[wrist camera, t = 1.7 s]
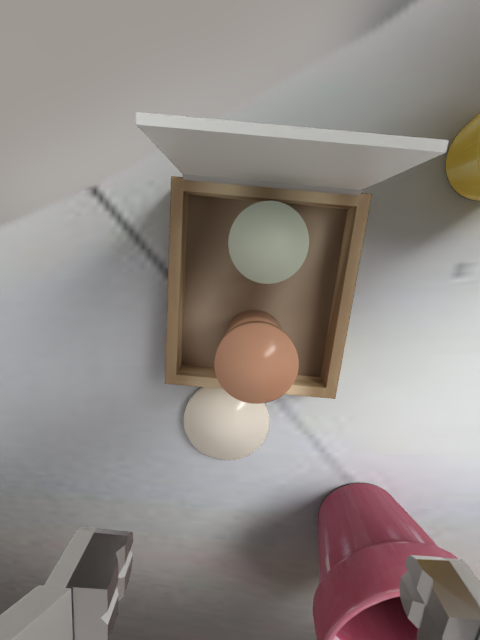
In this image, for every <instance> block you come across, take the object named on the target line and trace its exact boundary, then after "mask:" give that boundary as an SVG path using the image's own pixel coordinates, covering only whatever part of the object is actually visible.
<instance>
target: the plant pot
mask: <svg viewBox="0 0 480 640" xmlns="http://www.w3.org/2000/svg"><path fill="white" fill-rule="evenodd" d="M318 548H319V583H320V584H319V586H318V588H317V590H316V593H315V596H314V601H313V617H314V624H315V630H316V636H317V640H417V630H418V628H417V627H416V626H415V625H414V624H413V623H412V622H411V621H410V620H409V619H408V618H407V615H406V613H405V611H404V608H403V605H402V602H401V598H400V589H399V585H400V580H401V576H403V575H404V574H405V573H406V572H408V570H407V568H406V566H405V562H406V559H407V557H408V556H410V555H417V556H432V557H442V558H454V559H458V558H457V557H456V556H454V555H453V554H451V553H450V552H447V551H445V550H443V549H441V548H439V547H438V546H437V545H436V544H435V543H434V541H433V540H432V539H431V538H430V537H429V536H428V535H427V534H426V533H425V531H424V530H423V529H422V528H421V527H420V526H419V525H418V524H417V523H416V522H415V521H414V520H413V519H412V518H411V516H410V515H409V514H408V513H407V512H406V511H405V510H404V509H403V508H402V507H401V506H400V505H399V504H398V503H397V502H396V501H395V499H394V498H393V497H392V496H391V495H390V494H389V493H388V492H386V491H385V490H384V489H382V488H380V487H378V486H375V485H372V484H367V483H354V484H349V485H345V486H342V487H340V488H338V489H336V490H335V491H333V492H332V493H330V494H329V495H328V496H327V497H326V498H325V499H324V501H323V502H322V504H321V506H320V509H319V513H318Z"/></svg>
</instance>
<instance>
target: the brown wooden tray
mask: <svg viewBox="0 0 480 640" xmlns="http://www.w3.org/2000/svg"><path fill="white" fill-rule="evenodd" d="M371 196H372V194H364V193H360V195H359V196H356V195H345V194H333V193H322V192H311V191H300V190H289V189H278V188H267V187H256V186H245V185H233V184H222V183H211V182H200V181H189V180H183V177H175V176H171V201H170V235H169V268H168V302H167V336H166V369H165V384H175V385H186V386H197V387H208V388H220V389H223V388H222V386H221V385H220V383H219V382H218V379H217V377H216V373H215V368H214V361H215V355H216V352H217V348H218V345H219V343H220V341H221V339H222V338H223V337H224V335H225V334H226V331H227V328H228V325H229V324H230V322H231V321H232V319H233V318H235V317H236V316H237V315H238V314H240V313H242V312H245V311H248V310H261V311H264V312H267V313H269V314H270V315H272V316H273V317H274V318H275V319H276V320H277V321H278V322H279V324H280V326H281V328H282V330H283V331H284V332H285V333H286V334H287V335H288V336H289V337H290V339H291V340H292V342H293V344H294V346H295V349H296V351H297V354H298V359H299V369H298V374H297V377H296V379H295V381H294V383H293V385H292V386H291V388H290V389H289V390H288V391H287V392H286V393H285V394H287V395H299V396H310V397H321V398H332V399H335V397H336V391H337V386H338V380H339V375H340V369H341V363H342V358H343V352H344V347H345V341H346V335H347V330H348V324H349V319H350V313H351V308H352V302H353V296H354V291H355V285H356V280H357V274H358V268H359V263H360V257H361V252H362V246H363V241H364V235H365V229H366V224H367V218H368V213H369V207H370V202H371ZM261 201H278V202H281V203H284V204H286V205H289V206H290V207H292V208H293V209H294V210H295V211H297V212H298V214H299V215H300V216H301V217H302V219H303V220H304V222H305V224H306V227H307V230H308V234H309V248H308V253H307V256H306V259H305V261H304V263H303V264H302V266H301V267H300V268H299V270H298V271H297V272H296V273H295V274H294V275H292V276H291V277H289V278H288V279H286V280H284V281H281V282H278V283H273V284H263V283H258V282H254V281H252V280H250V279H248V278H246V277H245V276H244V275H242V274H241V273H240V272H239V271H238V270H237V268H236V267H235V265H234V264H233V262H232V260H231V257H230V253H229V248H228V238H229V233H230V229H231V227H232V224H233V223H234V221H235V219H236V218H237V216H238V215H239V214H240V213H241V212H242V211H243V210H244V209H246V208H247V207H249V206H251V205H252V204H255V203H258V202H261Z"/></svg>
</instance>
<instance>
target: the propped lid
mask: <svg viewBox="0 0 480 640" xmlns="http://www.w3.org/2000/svg"><path fill="white" fill-rule="evenodd" d="M136 125H137V126H138V127H139V128H140V129H141V130H142V131H143V132H144V134H145V135H146V136H147V137H148V138H149V139H150V140H151V141H152V142H153V143H154V144H155V145H156V146H157V147H158V148H159V149H160V150H161V152H162V153H163V154H164V155H165V156H166V157H167V158H168V159H169V160H170V161H171V162H172V163H173V164H174V165H175V166H176V167H177V169H178V170H179V171H180V172H181V173H182V174H183V180H189V181H200V182H211V183H222V184H233V185H245V186H256V187H267V188H278V189H289V190H300V191H311V192H322V193H333V194H345V195H356V196H359V195H360V193H361V190H363V189H365V188H368V187H370V186H372V185H374V184H377V183H379V182H381V181H383V180H386V179H388V178H390V177H392V176H395V175H397V174H399V173H401V172H403V171H406V170H408V169H410V168H412V167H415V166H417V165H419V164H421V163H424V162H426V161H428V160H430V159H433V158H435V157H437V156H439V155H442V154H444V153H446V151H447V146H448V142H449V140H442V139H431V138H420V137H408V136H397V135H386V134H375V133H364V132H353V131H342V130H331V129H320V128H309V127H298V126H287V125H276V124H264V123H253V122H242V121H231V120H220V119H209V118H197V117H187V116H176V115H164V114H153V113H142V112H136Z"/></svg>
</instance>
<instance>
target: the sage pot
mask: <svg viewBox="0 0 480 640" xmlns="http://www.w3.org/2000/svg"><path fill="white" fill-rule="evenodd" d="M228 248H229V253H230V257H231V260H232V262H233V264H234V265H235V267H236V268H237V270H238V271H239V272H240V273H241V274H242V275H244V276H245V277H246V278H248V279H250V280H252V281H254V282H258V283H263V284H273V283H278V282H281V281H284V280H286V279H288V278H289V277H291V276H292V275H294V274H295V273H296V272H297V271H298V270H299V268H300V267H301V266H302V264H303V263H304V261H305V259H306V256H307V253H308V248H309V234H308V230H307V227H306V224H305V222H304V220H303V219H302V217H301V216H300V215H299V214H298V212H297V211H295V210H294V209H293V208H292V207H290V206H289V205H286V204H284V203H281V202H278V201H261V202H258V203H255V204H252V205H251V206H249V207H247V208H246V209H244V210H243V211H242V212H241V213H240V214H239V215H238V216H237V218H236V219H235V221H234V223H233V224H232V227H231V229H230V233H229V238H228Z"/></svg>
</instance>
